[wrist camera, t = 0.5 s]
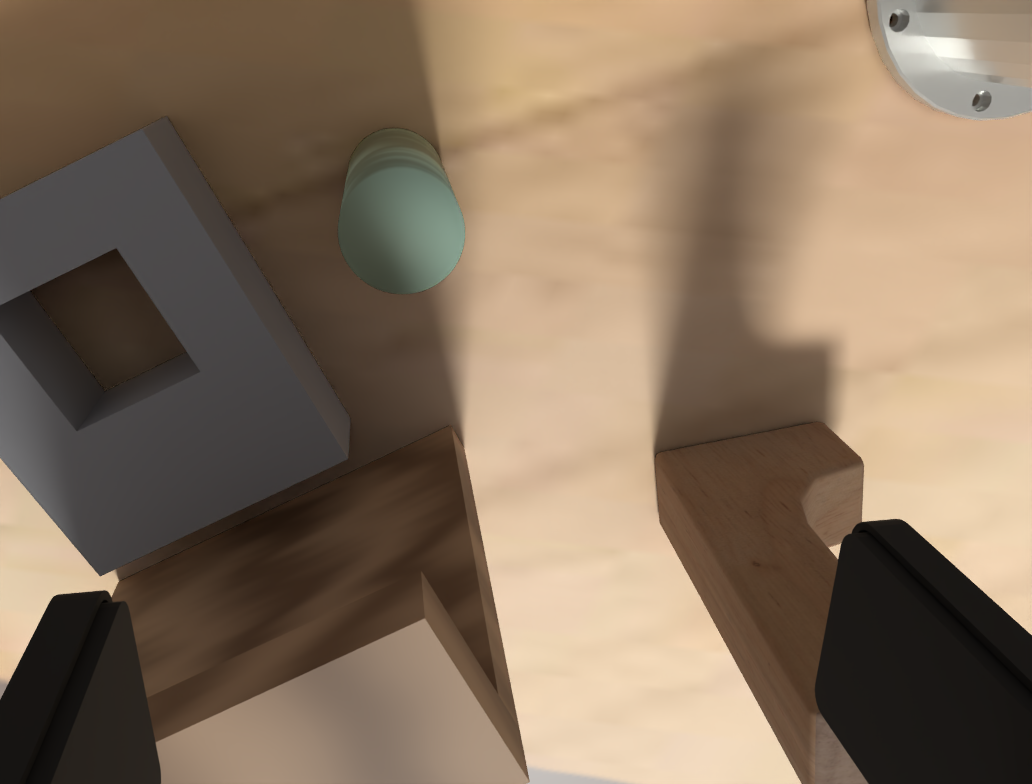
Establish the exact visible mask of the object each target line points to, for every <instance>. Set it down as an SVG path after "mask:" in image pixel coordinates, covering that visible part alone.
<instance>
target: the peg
mask: <svg viewBox="0 0 1032 784" xmlns="http://www.w3.org/2000/svg"><path fill="white" fill-rule="evenodd" d="M338 240H339V245H340V248H341V252H342V254H343V256H344V259H345V261H346V262H347V264H348V265H349V267H350V268H351V270H352V271H353V272H354V273H355V274H356V275H357V276H358V277H359V278H360V279H361V280H363V281H364V282H365V283H367V284H368V285H370V286H372V287H374V288H376V289H378V290H381V291H384V292H388V293H393V294H412V293H417V292H421V291H424V290H427V289H429V288H431V287H433V286H435V285H437V284H438V283H439V282H441V281H442V280H443V279H444V278H446V277H447V276H448V275H449V274H450V272H451V271H452V270H453V269H454V267H455V266H456V264H457V262H458V261H459V258H460V256H461V254H462V250H463V247H464V241H465V225H464V219H463V215H462V212H461V210H460V207H459V205H458V202H457V200H456V197H455V195H454V193H453V190H452V188H451V185H450V183H449V180H448V178H447V175H446V173H445V170H444V168H443V165H442V163H441V161H440V158H439V156H438V154H437V152H436V150H435V149H434V148H433V146H432V145H431V144H430V143H429V142H428V141H427V140H426V139H424V138H423V137H422V136H420V135H418V134H417V133H415V132H412V131H410V130H406V129H401V128H387V129H382V130H379V131H376V132H374V133H372V134H370V135H369V136H367V137H366V138H365V139H363V140H362V141H361V142H360V143H359V144H358V146H357V147H356V149H355V150H354V152H353V154H352V156H351V159H350V162H349V166H348V171H347V177H346V182H345V188H344V193H343V199H342V204H341V210H340V216H339V221H338Z"/></svg>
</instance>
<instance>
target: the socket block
mask: <svg viewBox="0 0 1032 784" xmlns="http://www.w3.org/2000/svg"><path fill="white" fill-rule="evenodd" d="M115 248H117V250H118V251H119V253H120V254H121V256H122V257H123V259H124V260H125V262H126V263H127V265H128V266H129V268H130V269H131V270H132V272H133V273H134V275H135V276H136V278H137V279H138V281H139V282H140V284H141V285H142V287H143V288H144V290H145V291H146V293H147V294H148V295H149V297H150V298H151V300H152V301H153V303H154V304H155V306H156V307H157V309H158V310H159V312H160V313H161V315H162V316H163V317H164V319H165V320H166V322H167V323H168V325H169V326H170V328H171V329H172V331H173V332H174V334H175V335H176V337H177V338H178V340H179V341H180V342H181V344H182V345H183V347H184V348H185V350H186V351H187V352H186V353H184V354H182V355H179V356H177V357H175V358H173V359H171V360H169V361H167V362H165V363H163V364H161V365H159V366H157V367H155V368H153V369H151V370H148V371H146V372H144V373H142V374H140V375H138V376H136V377H134V378H132V379H130V380H128V381H126V382H124V383H122V384H119V385H117V386H115V387H113V388H111V389H109V390H107V391H104V390H103V388H102V387H101V386H100V384H99V383H98V382H97V380H96V379H95V378H94V376H93V375H92V374H91V372H90V371H89V370H88V368H87V367H86V366H85V364H84V363H83V362H82V360H81V359H80V358H79V356H78V355H77V354H76V352H75V351H74V350H73V348H72V347H71V346H70V344H69V343H68V342H67V340H66V339H65V338H64V336H63V335H62V333H61V332H60V331H59V329H58V328H57V327H56V325H55V324H54V323H53V321H52V320H51V319H50V317H49V316H48V315H47V313H46V312H45V311H44V309H43V308H42V307H41V305H40V304H39V303H38V301H37V300H36V299H35V297H34V296H33V295H32V293H31V292H30V290H32V289H34V288H36V287H38V286H40V285H42V284H44V283H46V282H48V281H50V280H52V279H54V278H56V277H58V276H60V275H62V274H65V273H67V272H69V271H71V270H73V269H75V268H77V267H79V266H81V265H83V264H85V263H87V262H89V261H91V260H93V259H95V258H97V257H99V256H101V255H103V254H105V253H107V252H109V251H111V250H113V249H115ZM350 423H351V418H350V417H349V415H348V413H347V412H346V410H345V408H344V407H343V405H342V403H341V402H340V400H339V399H338V397H337V395H336V394H335V392H334V390H333V389H332V387H331V385H330V384H329V382H328V380H327V379H326V377H325V376H324V374H323V372H322V371H321V369H320V367H319V366H318V364H317V362H316V361H315V359H314V357H313V356H312V354H311V352H310V351H309V349H308V348H307V346H306V344H305V343H304V341H303V339H302V338H301V336H300V334H299V333H298V331H297V329H296V328H295V326H294V325H293V323H292V321H291V320H290V318H289V316H288V315H287V313H286V311H285V310H284V308H283V306H282V305H281V303H280V301H279V300H278V298H277V297H276V295H275V293H274V292H273V290H272V288H271V287H270V285H269V283H268V282H267V280H266V278H265V277H264V275H263V274H262V272H261V270H260V269H259V267H258V265H257V264H256V262H255V260H254V259H253V257H252V255H251V254H250V252H249V250H248V249H247V247H246V246H245V244H244V242H243V241H242V239H241V237H240V236H239V234H238V232H237V231H236V229H235V227H234V226H233V224H232V223H231V221H230V219H229V218H228V216H227V214H226V213H225V211H224V209H223V208H222V206H221V204H220V203H219V201H218V199H217V198H216V196H215V195H214V193H213V191H212V190H211V188H210V186H209V185H208V183H207V181H206V180H205V178H204V176H203V175H202V173H201V172H200V170H199V168H198V167H197V165H196V163H195V162H194V160H193V158H192V157H191V155H190V153H189V152H188V150H187V148H186V147H185V145H184V144H183V142H182V140H181V139H180V137H179V135H178V134H177V132H176V130H175V129H174V127H173V125H172V124H171V122H170V121H169V119H168V117H167V116H165V117H163V118H161V119H159V120H157V121H155V122H153V123H151V124H149V125H147V126H145V127H143V128H141V129H139V130H137V131H135V132H133V133H131V134H129V135H127V136H125V137H123V138H121V139H119V140H117V141H115V142H113V143H111V144H109V145H107V146H105V147H103V148H101V149H99V150H97V151H95V152H93V153H91V154H89V155H87V156H85V157H83V158H81V159H79V160H77V161H75V162H73V163H71V164H69V165H67V166H65V167H63V168H61V169H59V170H57V171H55V172H53V173H51V174H49V175H47V176H45V177H43V178H41V179H39V180H37V181H35V182H33V183H31V184H29V185H27V186H25V187H23V188H21V189H19V190H17V191H15V192H13V193H11V194H9V195H7V196H5V197H3V198H1V199H0V458H1V459H2V461H3V462H4V463H5V464H6V465H7V466H8V468H9V469H10V470H11V471H12V472H13V474H14V475H15V476H16V477H17V478H18V480H19V481H20V482H21V483H22V484H23V485H24V487H25V488H26V489H27V490H28V491H29V493H30V494H31V495H32V496H33V497H34V499H35V500H36V501H37V502H38V503H39V504H40V506H41V507H42V508H43V509H44V510H45V512H46V513H47V514H48V515H49V516H50V517H51V519H52V520H53V521H54V522H55V523H56V525H57V526H58V527H59V528H60V529H61V531H62V532H63V533H64V534H65V535H66V536H67V538H68V539H69V540H70V541H71V542H72V544H73V545H74V546H75V547H76V548H77V550H78V551H79V552H80V553H81V554H82V555H83V557H84V558H85V559H86V560H87V561H88V563H89V564H90V565H91V566H92V567H93V569H94V570H95V571H96V572H97V573H98V574H99V576H102V575H104V574H106V573H108V572H110V571H113V570H115V569H117V568H119V567H121V566H123V565H125V564H127V563H130V562H132V561H134V560H136V559H138V558H140V557H142V556H144V555H146V554H149V553H151V552H153V551H155V550H157V549H159V548H161V547H163V546H165V545H168V544H170V543H172V542H174V541H176V540H178V539H180V538H182V537H185V536H187V535H189V534H191V533H193V532H195V531H197V530H199V529H201V528H204V527H206V526H208V525H210V524H212V523H214V522H216V521H218V520H220V519H223V518H225V517H227V516H229V515H231V514H233V513H235V512H237V511H240V510H242V509H244V508H246V507H248V506H250V505H252V504H254V503H256V502H259V501H261V500H263V499H265V498H267V497H269V496H271V495H273V494H275V493H278V492H280V491H282V490H284V489H286V488H288V487H290V486H292V485H295V484H297V483H299V482H301V481H303V480H305V479H307V478H309V477H311V476H314V475H316V474H318V473H320V472H322V471H324V470H326V469H328V468H330V467H333V466H335V465H337V464H339V463H341V462H343V461H345V460H347V459H348V455H349V439H350Z"/></svg>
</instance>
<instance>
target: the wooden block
mask: <svg viewBox="0 0 1032 784" xmlns="http://www.w3.org/2000/svg"><path fill="white" fill-rule="evenodd" d="M655 468H656V481H657V494H658V506H659V519H660V524H661V526H662V528H663V529H664V531H665V533H666V535H667V537H668V539H669V540H670V542H671V544H672V546H673V548H674V550H675V551H676V553H677V555H678V557H679V559H680V561H681V562H682V564H683V566H684V568H685V570H686V572H687V573H688V575H689V577H690V579H691V581H692V583H693V584H694V586H695V588H696V590H697V592H698V593H699V595H700V597H701V599H702V601H703V603H704V605H705V606H706V608H707V610H708V612H709V614H710V616H711V618H712V619H713V621H714V623H715V625H716V627H717V629H718V631H719V632H720V634H721V636H722V638H723V640H724V642H725V643H726V645H727V647H728V649H729V651H730V653H731V654H732V656H733V658H734V660H735V662H736V664H737V666H738V667H739V669H740V671H741V673H742V675H743V677H744V678H745V680H746V682H747V684H748V686H749V688H750V689H751V691H752V693H753V695H754V697H755V699H756V700H757V702H758V704H759V706H760V708H761V710H762V711H763V713H764V715H765V717H766V719H767V721H768V722H769V724H770V726H771V728H772V730H773V732H774V734H775V735H776V737H777V739H778V741H779V743H780V745H781V746H782V748H783V750H784V752H785V754H786V756H787V757H788V759H789V761H790V763H791V765H792V767H793V768H794V770H795V772H796V774H797V776H798V778H799V779H800V781H801V783H802V784H868V782H867V781H866V779H865V778H864V777H863V775H862V774H861V772H860V771H859V769H858V768H857V766H856V765H855V763H854V762H853V760H852V759H851V757H850V756H849V754H848V753H847V752H846V750H845V749H844V747H843V746H842V744H841V743H840V741H839V740H838V738H837V737H836V735H835V734H834V732H833V731H832V729H831V728H830V727H829V725H828V724H827V722H826V721H825V719H824V718H823V716H822V715H821V713H820V711H819V709H818V706H817V703H816V698H815V682H816V676H817V671H818V666H819V660H820V655H821V650H822V644H823V639H824V634H825V628H826V623H827V618H828V612H829V607H830V602H831V596H832V591H833V586H834V580H835V575H836V570H837V564H838V559H837V558H836V557H835V555H834V554H833V553H832V552H831V551H830V549H829V547H831V546H834V545H837V544H840V543H842V540H843V538H844V537H845V536H846V535H848V534H851V533H852V530H853V528H854V527H855V526H856V524H858V523H860V522H862V501H863V477H864V464H863V461H862V459H861V457H859V456H858V455H857V454H856V453H855V452H854V451H853V450H852V449H851V448H850V447H849V446H848V445H847V444H846V443H845V442H843V441H842V440H841V439H840V438H839V437H838V436H837V435H836V434H835V433H834V432H833V431H832V430H831V429H830V428H828V427H827V426H826V425H825V424H824V423H821V422H814V423H809V424H803V425H798V426H793V427H788V428H783V429H778V430H772V431H767V432H762V433H757V434H752V435H747V436H742V437H736V438H731V439H726V440H721V441H716V442H711V443H705V444H700V445H695V446H690V447H685V448H679V449H674V450H669V451H664V452H660V453H658V454H657V455H656V459H655Z"/></svg>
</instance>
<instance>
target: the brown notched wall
mask: <svg viewBox="0 0 1032 784" xmlns="http://www.w3.org/2000/svg"><path fill="white" fill-rule="evenodd" d="M112 601H113V602H117V601H125V602H126V603H127V605H128V607H129V611H130V616H131V621H132V626H133V631H134V636H135V641H136V646H137V651H138V656H139V661H140V666H141V671H142V676H143V682H144V687H145V692H146V697H147V702H148V707H149V712H150V717H151V722H152V727H153V732H154V737H155V742H156V747H157V752H158V757H159V762H160V769H161V784H526V783H528V782H529V776H528V771H527V766H526V761H525V755H524V750H523V745H522V740H521V735H520V730H519V725H518V720H517V715H516V710H515V704H514V699H513V694H512V689H511V684H510V679H509V674H508V669H507V664H506V659H505V654H504V648H503V643H502V638H501V633H500V628H499V623H498V618H497V613H496V608H495V603H494V597H493V592H492V587H491V582H490V577H489V572H488V567H487V562H486V557H485V552H484V546H483V541H482V536H481V531H480V526H479V521H478V516H477V511H476V506H475V501H474V495H473V490H472V485H471V480H470V475H469V470H468V465H467V460H466V455H465V450H464V448H463V446H462V444H461V442H460V440H459V439H458V437H457V435H456V433H455V431H454V429H453V428H452V426H451V425H450V426H448V427H445V428H443V429H441V430H439V431H437V432H435V433H433V434H431V435H429V436H426V437H424V438H422V439H420V440H418V441H416V442H414V443H412V444H409V445H407V446H405V447H403V448H401V449H399V450H397V451H395V452H392V453H390V454H388V455H386V456H384V457H382V458H380V459H378V460H376V461H373V462H371V463H369V464H367V465H365V466H363V467H361V468H359V469H356V470H354V471H352V472H350V473H348V474H346V475H344V476H342V477H340V478H337V479H335V480H333V481H331V482H329V483H327V484H325V485H323V486H320V487H318V488H316V489H314V490H312V491H310V492H308V493H306V494H303V495H301V496H299V497H297V498H295V499H293V500H291V501H289V502H287V503H284V504H282V505H280V506H278V507H276V508H274V509H272V510H270V511H267V512H265V513H263V514H261V515H259V516H257V517H255V518H253V519H251V520H248V521H246V522H244V523H242V524H240V525H238V526H236V527H234V528H231V529H229V530H227V531H225V532H223V533H221V534H219V535H217V536H214V537H212V538H210V539H208V540H206V541H204V542H202V543H200V544H198V545H195V546H193V547H191V548H189V549H187V550H185V551H183V552H181V553H178V554H176V555H174V556H172V557H170V558H168V559H166V560H164V561H161V562H159V563H157V564H155V565H153V566H151V567H149V568H147V569H145V570H142V571H140V572H138V573H136V574H134V575H132V576H130V577H128V578H125V579H123V580H121V581H119V582H118V584H117V587H116V589H115V591H114V593H113V595H112Z"/></svg>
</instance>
